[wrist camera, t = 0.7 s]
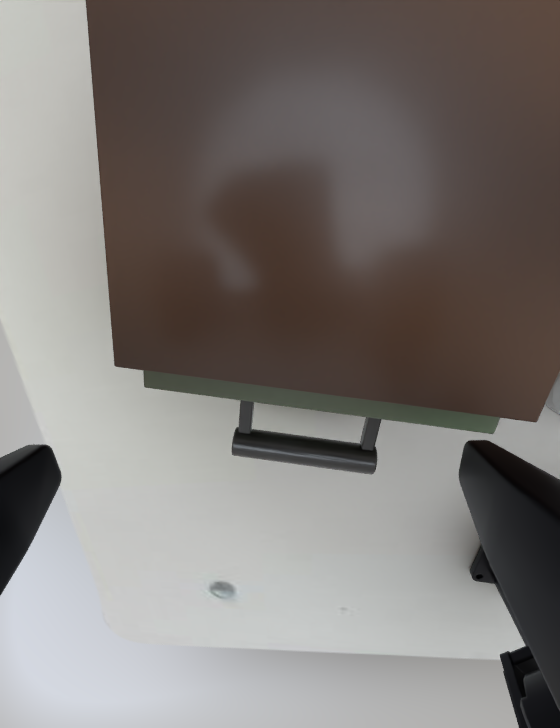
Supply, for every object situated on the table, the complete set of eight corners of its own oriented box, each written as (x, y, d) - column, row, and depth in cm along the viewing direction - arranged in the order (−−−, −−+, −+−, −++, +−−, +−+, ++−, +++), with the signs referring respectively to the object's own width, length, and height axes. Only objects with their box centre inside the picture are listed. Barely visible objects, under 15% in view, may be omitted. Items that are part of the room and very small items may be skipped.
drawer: (414, 436, 22) (456, 527, 15) (193, 406, 22) (147, 483, 16) (539, 25, 14) (722, -126, 8) (200, -9, 14) (117, -178, 8)
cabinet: (447, 340, 20) (536, 422, 12) (189, 307, 20) (113, 367, 13) (564, -38, 14) (894, -366, 6) (193, -74, 14) (51, -423, 6)
